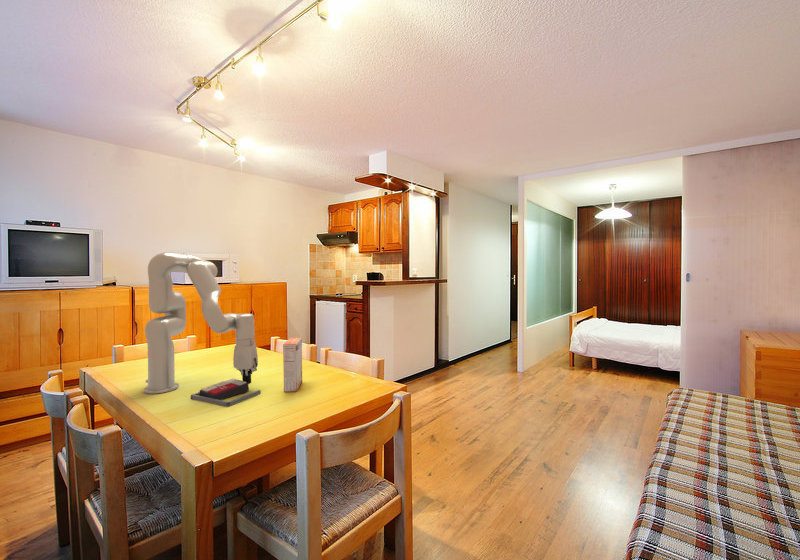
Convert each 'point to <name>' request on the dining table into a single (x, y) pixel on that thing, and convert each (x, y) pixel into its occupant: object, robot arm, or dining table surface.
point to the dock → (221, 402)
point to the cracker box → (292, 364)
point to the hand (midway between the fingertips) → (247, 383)
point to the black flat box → (225, 389)
